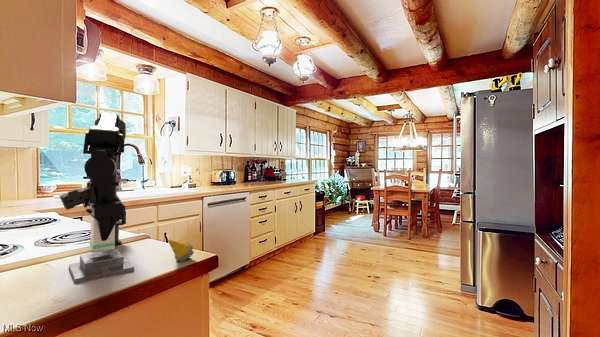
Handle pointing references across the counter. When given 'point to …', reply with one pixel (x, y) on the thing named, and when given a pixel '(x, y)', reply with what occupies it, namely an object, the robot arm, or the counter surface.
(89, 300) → the counter surface
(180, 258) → the yellow-green tapered piece
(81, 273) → the stand
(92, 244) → the column
